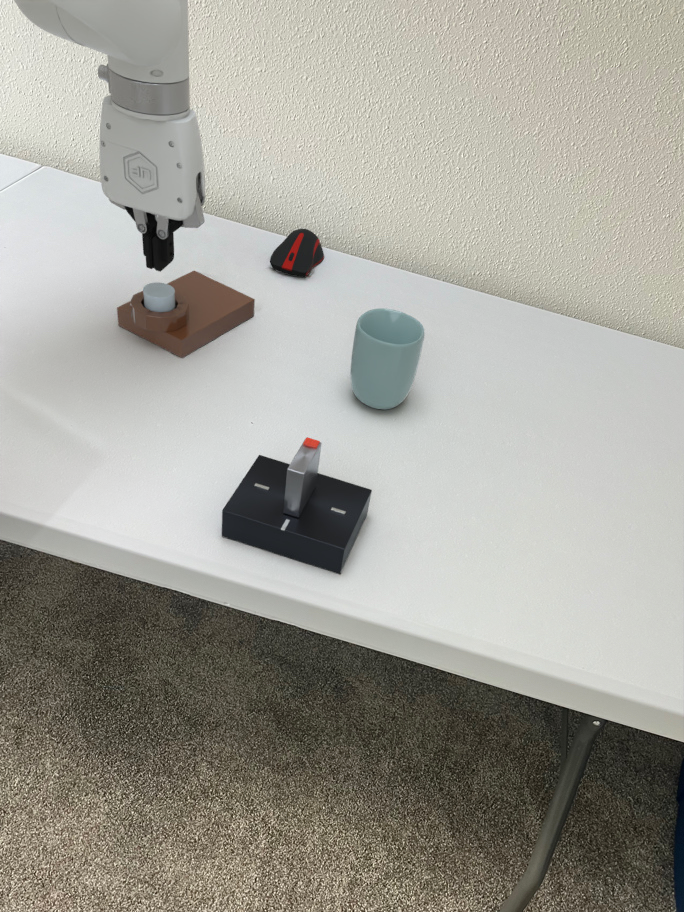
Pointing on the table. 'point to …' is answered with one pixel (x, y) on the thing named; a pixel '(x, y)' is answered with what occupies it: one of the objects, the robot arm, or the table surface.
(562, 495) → the table surface
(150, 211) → the robot arm
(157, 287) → the pale blue short cylinder
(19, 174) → the table surface
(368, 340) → the cup
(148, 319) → the brown mounting plate
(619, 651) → the table surface
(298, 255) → the computer mouse
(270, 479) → the plate
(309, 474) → the tap knob
